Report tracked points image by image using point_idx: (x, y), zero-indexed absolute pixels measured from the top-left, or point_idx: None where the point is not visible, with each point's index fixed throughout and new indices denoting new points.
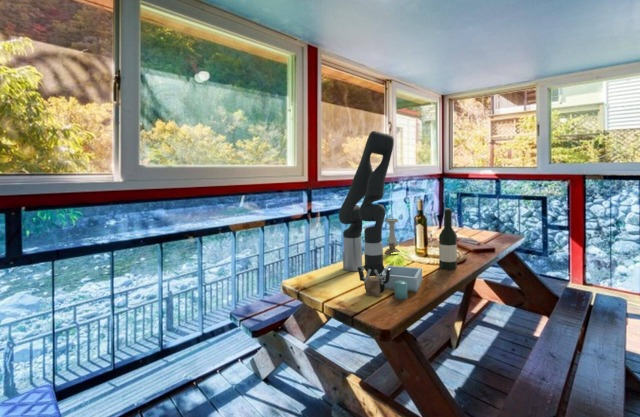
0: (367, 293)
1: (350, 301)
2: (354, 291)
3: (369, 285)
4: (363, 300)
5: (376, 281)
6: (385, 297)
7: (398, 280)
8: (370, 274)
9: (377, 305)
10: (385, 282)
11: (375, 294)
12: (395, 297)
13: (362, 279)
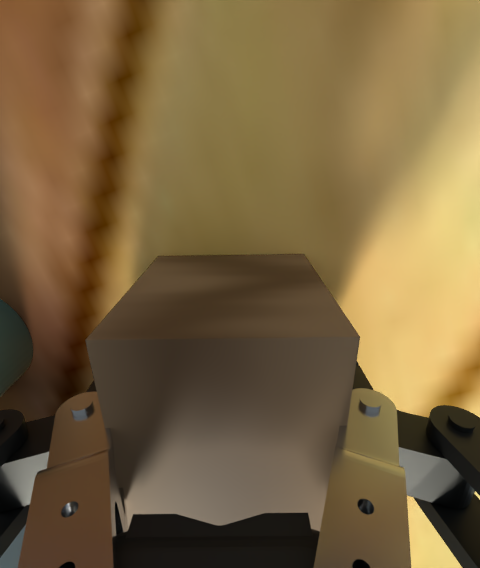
0: (289, 263)
1: (457, 8)
2: (448, 324)
3: (270, 308)
4: (296, 111)
5: (162, 411)
6: (98, 280)
7: (10, 559)
8: (301, 561)
9: (76, 6)
10: (12, 423)
11: (190, 264)
12: (5, 305)
13: (439, 426)
